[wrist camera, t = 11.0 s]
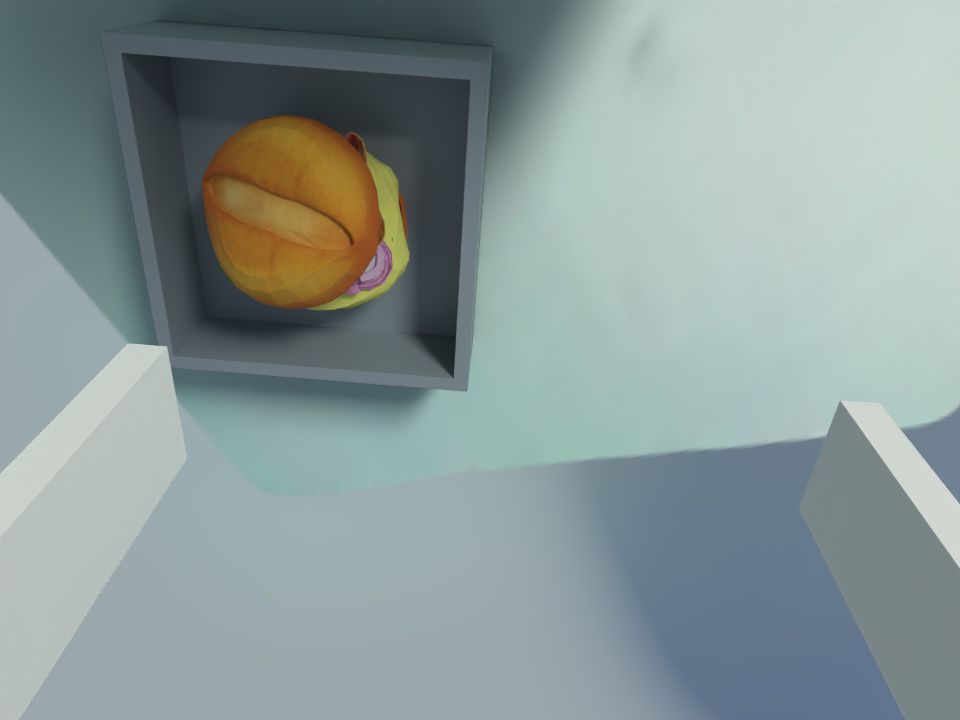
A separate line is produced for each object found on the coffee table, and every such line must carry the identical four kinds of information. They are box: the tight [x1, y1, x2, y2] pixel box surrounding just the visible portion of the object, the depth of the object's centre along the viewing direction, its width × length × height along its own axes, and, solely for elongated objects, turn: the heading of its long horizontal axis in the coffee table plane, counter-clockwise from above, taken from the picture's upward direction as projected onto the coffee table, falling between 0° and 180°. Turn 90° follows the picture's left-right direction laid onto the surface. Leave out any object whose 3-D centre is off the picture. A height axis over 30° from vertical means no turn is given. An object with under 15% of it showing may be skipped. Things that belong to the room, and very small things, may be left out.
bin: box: [100, 20, 493, 391], centre depth 39 cm, size 18×18×6 cm
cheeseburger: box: [202, 115, 410, 310], centre depth 37 cm, size 10×11×10 cm
